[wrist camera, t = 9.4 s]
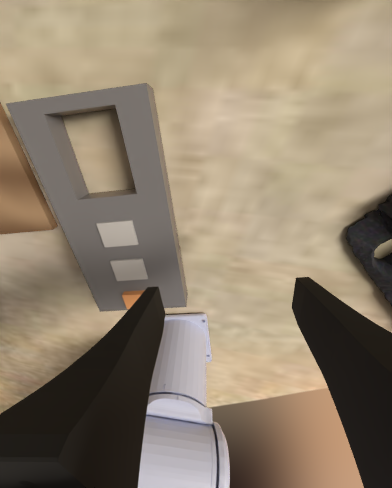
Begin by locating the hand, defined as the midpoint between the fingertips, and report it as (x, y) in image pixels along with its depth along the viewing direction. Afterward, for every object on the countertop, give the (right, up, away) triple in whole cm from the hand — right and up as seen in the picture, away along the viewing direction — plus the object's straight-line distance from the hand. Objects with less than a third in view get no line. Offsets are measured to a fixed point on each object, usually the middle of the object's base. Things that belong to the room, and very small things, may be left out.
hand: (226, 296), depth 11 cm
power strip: (-9, +5, +9) cm, 14 cm away
